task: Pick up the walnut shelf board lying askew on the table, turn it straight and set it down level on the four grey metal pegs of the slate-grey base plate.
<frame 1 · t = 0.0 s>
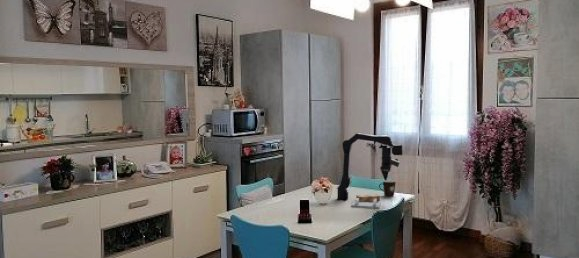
hand: (386, 179, 292), 15 cm above the table, tool pointing down, fingers open, 9 cm apart
shelf board: (367, 201, 294), on the table
peg plate: (365, 205, 281), on the table
coffee mug: (386, 195, 310), on the table
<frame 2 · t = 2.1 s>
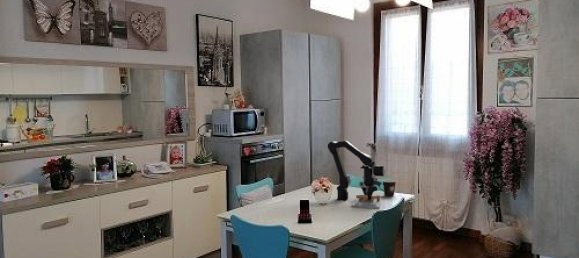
hand: (368, 199, 294), 1 cm above the table, tool pointing down, fingers closed on shelf board, 6 cm apart
shelf board: (367, 201, 294), on the table, touching gripper
everything else where it was.
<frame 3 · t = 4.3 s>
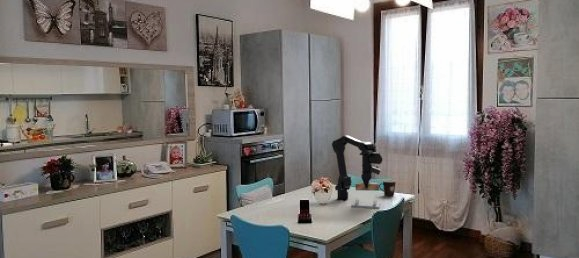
hand: (366, 187, 282), 11 cm above the table, tool pointing down, fingers closed on shelf board, 6 cm apart
shelf board: (366, 189, 282), point 10 cm above the table, touching gripper
everything else where it was.
when the fingers open (6 cm above the table, at t = 5.9 s): shelf board stays where it is, resting on peg plate.
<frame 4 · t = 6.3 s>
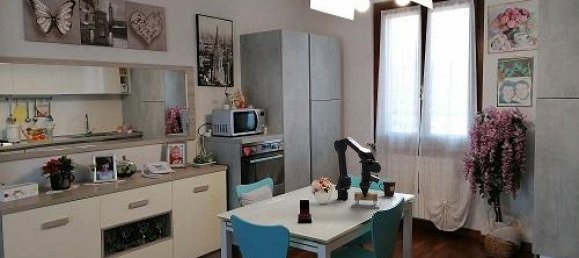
hand: (365, 195, 281), 6 cm above the table, tool pointing down, fingers open, 9 cm apart
shelf board: (365, 199, 281), point 4 cm above the table, touching peg plate
everything else where it was.
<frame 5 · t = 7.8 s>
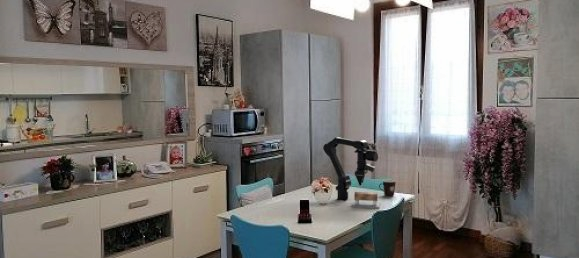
hand: (361, 183, 291), 12 cm above the table, tool pointing down, fingers open, 9 cm apart
nothing on the table moved.
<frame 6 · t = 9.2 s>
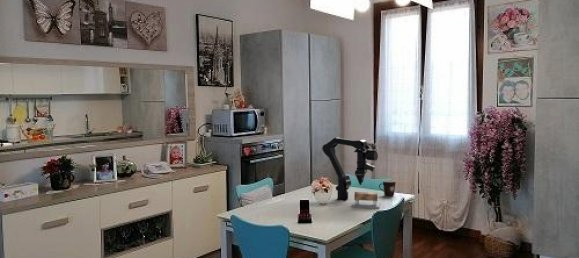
hand: (361, 183, 291), 12 cm above the table, tool pointing down, fingers open, 9 cm apart
nothing on the table moved.
at the end: shelf board 0.1 cm off-centre on the peg plate, point 4.0 cm above the peg plate's base; shelf board tilted 0°; the gripper is holding nothing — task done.
